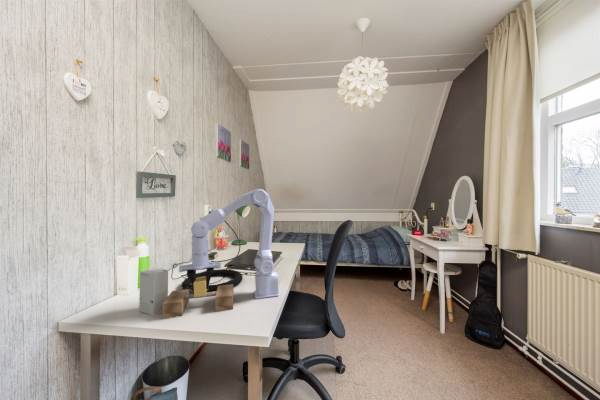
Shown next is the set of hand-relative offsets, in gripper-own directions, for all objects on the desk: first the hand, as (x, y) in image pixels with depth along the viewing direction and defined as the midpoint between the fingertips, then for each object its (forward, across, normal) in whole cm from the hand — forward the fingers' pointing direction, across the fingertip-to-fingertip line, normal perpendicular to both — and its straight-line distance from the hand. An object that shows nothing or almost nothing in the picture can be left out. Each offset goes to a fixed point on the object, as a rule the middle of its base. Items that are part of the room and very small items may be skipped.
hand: (201, 288), depth 89 cm
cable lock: (+7, +1, +24) cm, 25 cm away
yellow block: (+2, 0, 0) cm, 2 cm away
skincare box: (+7, -16, +2) cm, 18 cm away
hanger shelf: (+7, 0, 0) cm, 7 cm away
